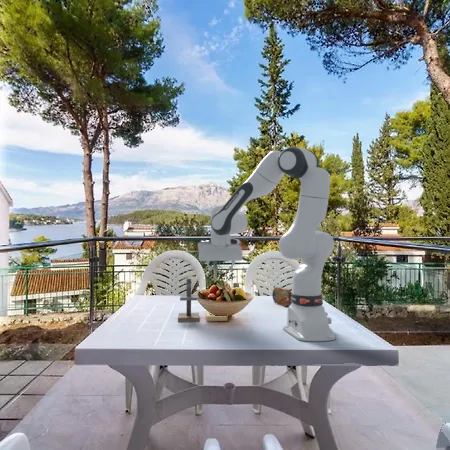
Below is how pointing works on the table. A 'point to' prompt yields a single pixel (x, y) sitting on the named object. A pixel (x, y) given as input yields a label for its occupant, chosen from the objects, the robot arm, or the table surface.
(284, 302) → the tin
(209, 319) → the tan rectangular frame
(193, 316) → the stand
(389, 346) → the table surface
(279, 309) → the table surface
